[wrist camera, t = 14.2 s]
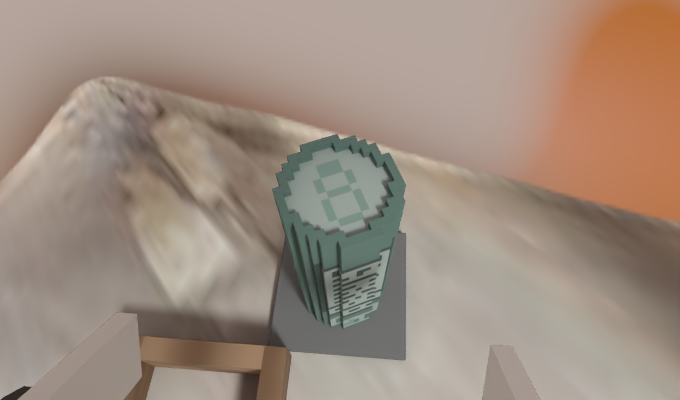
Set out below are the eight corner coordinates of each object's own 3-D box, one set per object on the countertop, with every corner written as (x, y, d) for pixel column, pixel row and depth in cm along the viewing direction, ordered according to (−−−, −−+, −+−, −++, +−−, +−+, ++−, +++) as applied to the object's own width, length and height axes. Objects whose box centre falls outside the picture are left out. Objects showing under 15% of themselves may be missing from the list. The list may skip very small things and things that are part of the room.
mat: (404, 236, 36) (405, 233, 36) (404, 360, 31) (405, 358, 31) (287, 228, 37) (287, 225, 36) (269, 349, 32) (267, 348, 31)
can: (363, 241, 36) (373, 123, 23) (393, 310, 33) (424, 219, 20) (293, 266, 35) (261, 156, 22) (317, 338, 32) (297, 263, 19)
